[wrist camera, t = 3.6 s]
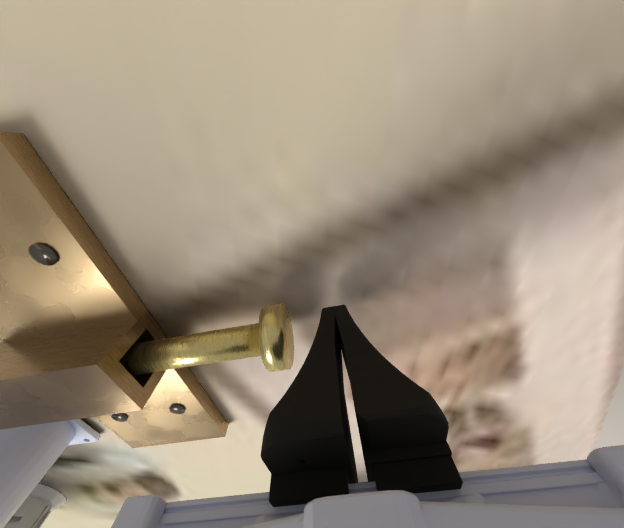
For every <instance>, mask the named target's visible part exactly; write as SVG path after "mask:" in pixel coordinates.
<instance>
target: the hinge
mask: <svg viewBox="0 0 624 528" xmlns="http://www.w3.org/2000/svg"><path fill="white" fill-rule="evenodd" d="M165 338H167V337H166V335H165V334H164V333H163V331H162V330H161V328H160V327H159V325H158V324H157V323H156V321H155V320H154V318H153V317H152V316H151V314H150V313H149V311H148V310H147V309H146V307H145V306H144V304H143V303H142V301H141V300H140V299H139V297H138V296H137V294H136V293H135V292H134V290H133V289H132V287H131V286H130V285H129V283H128V282H127V280H126V279H125V277H124V276H123V275H122V273H121V272H120V270H119V269H118V268H117V266H116V265H115V263H114V262H113V261H112V259H111V258H110V256H109V255H108V253H107V252H106V251H105V249H104V248H103V246H102V245H101V244H100V242H99V241H98V239H97V238H96V236H95V235H94V234H93V232H92V231H91V229H90V228H89V227H88V225H87V224H86V222H85V221H84V220H83V218H82V217H81V215H80V214H79V212H78V211H77V210H76V208H75V207H74V205H73V204H72V203H71V201H70V200H69V198H68V197H67V196H66V194H65V193H64V191H63V190H62V188H61V187H60V186H59V184H58V183H57V181H56V180H55V179H54V177H53V176H52V174H51V173H50V172H49V170H48V169H47V167H46V166H45V164H44V163H43V162H42V160H41V159H40V157H39V156H38V155H37V153H36V152H35V150H34V149H33V148H32V146H31V145H30V143H29V142H28V140H27V139H26V138H25V136H24V135H23V133H0V339H2V340H3V341H4V342H2V343H1V344H0V430H1V429H8V428H16V427H23V426H30V425H37V424H45V423H52V422H59V421H66V420H74V419H81V418H88V417H96V418H97V419H98V420H99V421H101V422H102V423H103V424H104V425H106V426H107V427H108V428H109V429H110V430H112V431H113V432H114V433H115V434H116V435H118V436H119V437H120V438H121V439H122V440H124V441H125V442H126V443H127V444H128V445H130V446H131V447H132V448H137V447H145V446H153V445H161V444H169V443H177V442H185V441H193V440H202V439H210V438H218V437H225V435H226V431H227V428H228V423H227V421H226V420H225V419H224V417H223V416H222V414H221V413H220V412H219V410H218V409H217V407H216V406H215V405H214V403H213V402H212V400H211V399H210V397H209V396H208V395H207V393H206V392H205V390H204V389H203V388H202V386H201V385H200V383H199V382H198V381H197V379H196V378H195V376H194V375H193V373H192V372H191V371H190V369H189V368H188V367H183V368H176V369H169V370H163V371H156V372H150V373H143V374H136V375H131V374H130V373H129V372H128V371H127V370H126V369H125V368H124V367H123V366H122V364H121V363H120V362H119V360H120V359H121V358H122V357H123V355H124V354H125V353H126V352H127V351H128V350H129V348H130V347H131V346H132V345H133V344H135V343H141V342H147V341H153V340H159V339H165Z"/></svg>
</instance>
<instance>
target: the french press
mask: <svg viewBox="0 0 624 528" xmlns="http://www.w3.org/2000/svg"><path fill="white" fill-rule="evenodd" d="M65 501H66V498H65V497H64V496H63V495H62V493H60V492H58V491H56V490H54V489H52V488H50V487H48V486H45V485H41V484H37V486H36V487H35V488H34V489H33V491H32V492H31V493H30V494H29V496H28V497H27V498H26V500H25V501H24V502H23V503H22V505H21V506H20V507H19V508H18V510H17V511H16V512H15V514H14V515H13V516H12V517H11V519H10V520H9V521H8V522H7V524H6V525H5V526H4V528H40V527H41V525H42V524H43V522H44V521H45V519H46V518H47V516H48V515H49V513H50V512H51V511H53V510H55V509H57V508H58V507H60V506H61V505H63V504H65Z"/></svg>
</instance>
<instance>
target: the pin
mask: <svg viewBox="0 0 624 528" xmlns="http://www.w3.org/2000/svg"><path fill="white" fill-rule="evenodd" d="M255 356H262V360H263V363H264V365H265V367H266V368H267V370H268V371H270V372H273V371H280V370H287V369H290V368H291V367H292V364H293V359H294V340H293V331H292V325H291V320H290V316H289V313H288V310H287V308H286V306H285V305H284V304H276V305H270V306H265V307H263V309H262V310H261V313H260V317H259V323H257V324H251V325H245V326H239V327H232V328H226V329H220V330H214V331H208V332H202V333H196V334H190V335H184V336H177V337H171V338H165V339H159V340H153V341H147V342H141V343H135V344H133V345H132V346H131V347H130V348H129V350H128V351H127V352H126V353H125V354H124V355H123V357H122V358H121V359H120V360H119V362H120V363H121V364H122V366H123V367H124V368H125V369H126V370H127V371H128V372H129V373H130V374H131V375H136V374H143V373H150V372H156V371H163V370H169V369H176V368H183V367H189V366H196V365H202V364H209V363H216V362H222V361H229V360H235V359H242V358H249V357H255Z"/></svg>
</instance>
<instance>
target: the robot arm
mask: <svg viewBox="0 0 624 528" xmlns="http://www.w3.org/2000/svg"><path fill="white" fill-rule="evenodd" d="M341 350H342V353H343V357H344V361H345V365H346V369H347V372H348V376H349V380H350V384H351V389H352V395H353V401H354V406H355V412H356V418H357V423H358V428H359V434H360V439H361V444H362V450H363V456H364V461H365V467H366V472H367V477H368V482H362V483H358V477H357V471H356V464H355V458H354V452H353V445H352V439H351V433H350V426H349V420H348V413H347V407H346V400H345V394H344V384H343V369H342V354H341ZM448 428H449V426H448V421H447V419H446V417H445V415H444V414H443V412H442V410H441V409H440V407H439V406H438V404H437V403H436V401H435V400H434V399H433V397H432V396H431V395H430V394H429V392H427V391H426V390H424V389H423V388H421V387H420V386H418V385H417V384H416V383H414V382H413V381H412V380H410V379H409V378H408V377H406V376H405V375H404V374H403V373H401V372H400V371H399V370H398V369H397V368H396V367H394V366H393V365H392V364H391V363H390V362H389V361H388V360H386V359H385V358H384V357H383V356H382V355H381V354H380V353H379V352H378V351H377V350H376V349H375V347H374V346H373V345H372V344H371V343H370V342H369V341H368V339H367V338H366V337H365V336H364V335H363V333H362V332H361V331H360V329H359V328H358V326H357V325H356V324H355V322H354V321H353V319H352V317H351V316H350V314H349V312H348V310H347V308H346V306H345V305H340V306H334V307H328V308H323V309H322V312H321V318H320V323H319V326H318V330H317V333H316V336H315V339H314V341H313V344H312V347H311V349H310V351H309V354H308V356H307V358H306V360H305V362H304V364H303V366H302V368H301V369H300V371H299V373H298V375H297V376H296V378H295V380H294V381H293V383H292V384H291V386H290V387H289V389H288V390H287V392H286V393H285V395H284V396H283V397H282V399H281V400H280V401H279V402H278V404H277V405H276V406H275V407H274V409H273V410H272V411H271V413H270V414H269V417H268V420H267V424H266V427H265V431H264V436H263V442H262V450H261V458H262V460H263V462H264V463H265V465H266V466H267V468H268V469H269V471H270V472H271V484H270V492H265V493H255V494H245V495H235V496H226V497H216V498H206V499H196V500H186V501H177V502H167V503H166V501H165V500H164V499H163V498H162V497H160V496H156V495H146V496H137V497H128V498H127V499H126V500H125V502H124V504H123V506H122V508H121V510H120V512H119V513H118V515H117V517H116V519H115V521H114V523H113V525H112V527H111V528H624V445H619V446H611V447H602V448H598V449H596V450H593V451H592V452H591V453H590V454H589V455H588V457H587V460H577V461H568V462H558V463H548V464H538V465H528V466H519V467H509V468H499V469H489V470H480V471H470V472H460V473H459V472H458V470H457V468H456V466H455V463H454V461H453V459H452V457H451V455H452V452H451V450H450V447H449V445H448V443H447V441H446V439H447V434H448ZM100 437H101V436H100V434H99V433H98V432H96V431H95V430H94V429H93V428H91V427H90V426H89V425H87V424H86V423H85V422H84V421H82V420H81V419H74V420H66V421H59V422H52V423H45V424H37V425H30V426H23V427H16V428H8V429H1V430H0V528H4V526H5V525H6V524H7V522H8V521H9V520H10V519H11V517H12V516H13V515H14V514H15V512H16V511H17V510H18V508H19V507H20V506H21V505H22V503H23V502H24V501H25V500H26V498H27V497H28V496H29V494H30V493H31V492H32V491H33V489H34V488H35V487H36V486H37V484H38V483H39V482H40V480H41V479H42V478H43V477H44V475H45V474H46V473H47V471H48V470H49V469H50V468H51V466H52V465H53V464H54V463H55V461H56V460H57V459H58V457H59V456H60V455H61V454H62V452H63V451H64V450H65V449H66V447H67V446H68V445H74V444H82V443H90V442H96V441H98V440H99V438H100Z"/></svg>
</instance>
